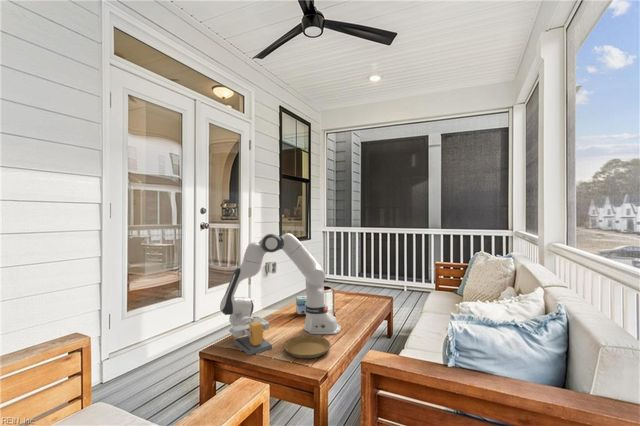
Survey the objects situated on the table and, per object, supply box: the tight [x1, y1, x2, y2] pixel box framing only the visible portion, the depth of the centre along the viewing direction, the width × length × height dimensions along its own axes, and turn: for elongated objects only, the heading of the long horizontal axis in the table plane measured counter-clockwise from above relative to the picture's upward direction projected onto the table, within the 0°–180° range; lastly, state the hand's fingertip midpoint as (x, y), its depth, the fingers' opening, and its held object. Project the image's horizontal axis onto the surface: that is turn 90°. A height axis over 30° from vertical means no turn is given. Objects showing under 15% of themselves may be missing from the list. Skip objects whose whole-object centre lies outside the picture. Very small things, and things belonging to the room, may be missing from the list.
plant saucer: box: [283, 335, 331, 359], centre depth 166 cm, size 24×24×3 cm
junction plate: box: [233, 335, 273, 356], centre depth 172 cm, size 19×13×8 cm
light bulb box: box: [295, 295, 306, 315], centre depth 227 cm, size 11×7×11 cm, turn 105°
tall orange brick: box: [249, 322, 264, 345], centre depth 168 cm, size 5×5×10 cm
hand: (256, 332), depth 168 cm, fingers closed on tall orange brick, 5 cm apart
